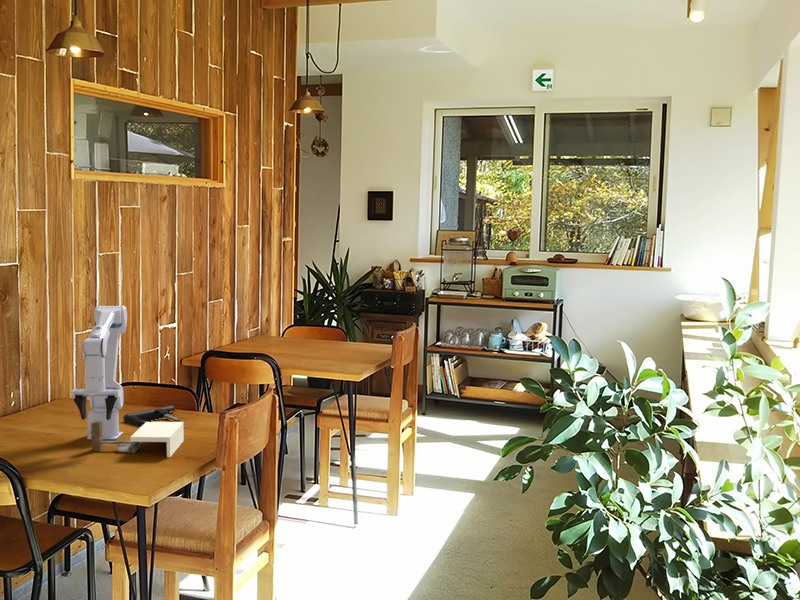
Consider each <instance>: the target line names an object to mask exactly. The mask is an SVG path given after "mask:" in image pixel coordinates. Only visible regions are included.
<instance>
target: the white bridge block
mask: <svg viewBox="0 0 800 600" xmlns="http://www.w3.org/2000/svg"><path fill="white" fill-rule="evenodd" d="M184 422H185V421H180V422H171V421H151V422H146V423H145V424H143V425H142V426H141V427H138V429H137V430H136V431H135V432H134V433H132V435H131V436H130V437H129V438H130V439H129V441H130V442H140V443H144V442H145V443H166V458H171V457H172V456H173V454H175V452H176V451H177V449H178V448H179V447H180V446H181V445H182V444H181V443H183V442H184V441H185V440H184V438H185V435H184V433H185V431H184V429H185V428H184V427H185V426H184Z"/></svg>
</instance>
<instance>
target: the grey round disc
mask: <svg viewBox="0 0 800 600" xmlns="http://www.w3.org/2000/svg"><path fill="white" fill-rule="evenodd" d="M116 445H117V448H116V449H117V452H118V453H120V452H128V453H131V444H116Z"/></svg>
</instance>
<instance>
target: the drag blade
mask: <svg viewBox="0 0 800 600" xmlns="http://www.w3.org/2000/svg"><path fill="white" fill-rule="evenodd" d="M91 435H92V439H91V451H92V450H94V451H93V452H101V451H102V450H103V449H102V448H103V445H104V444H105V445H118V444H131V452H130V453H131V454H136V452H138V450H139V449H141V442H130V440H103V439H102V421H93V422H92V423H91ZM101 449H102V450H101ZM100 450H101V451H100Z"/></svg>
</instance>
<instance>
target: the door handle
mask: <svg viewBox="0 0 800 600" xmlns="http://www.w3.org/2000/svg"><path fill="white" fill-rule="evenodd" d="M175 409H176V408H175V406H174V405H166V406H161V407H156V408H152V409H145V410H141V411H136V412H130V413H126V414H124V415H123V422H125V423H130V424H131V425H133V424H134V426H136V425H137V426H136V427H138V426H142V425H143V424H145V423H146V422H147V421H151V420H155V419H159V418H163V417H164V418H167V419H170V420H173V421H180V422H181V418H180V417H179V418H178V417H176V416H174V415H172V414H169V412H170V411H174V412H175ZM151 422H152V421H151Z"/></svg>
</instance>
